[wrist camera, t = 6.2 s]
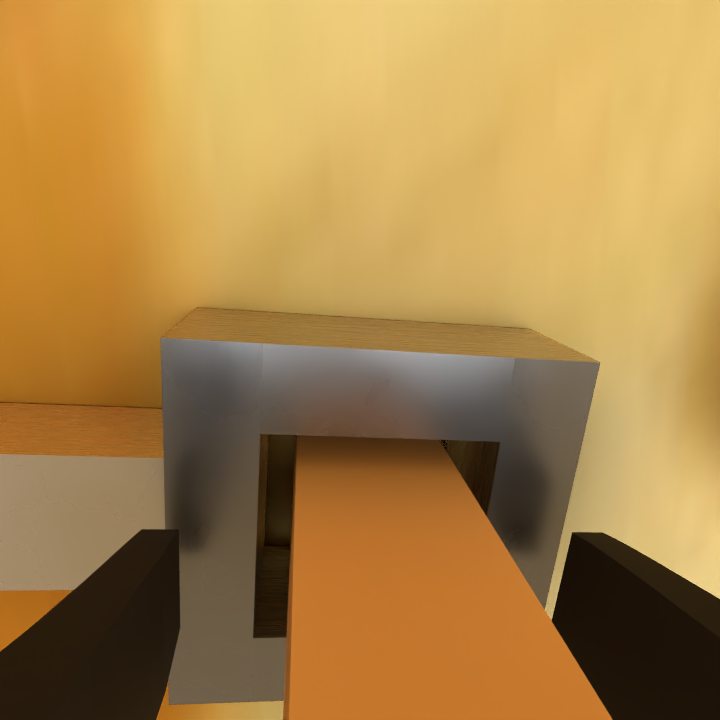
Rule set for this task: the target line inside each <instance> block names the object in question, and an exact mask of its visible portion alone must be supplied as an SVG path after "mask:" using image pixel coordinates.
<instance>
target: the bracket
mask: <svg viewBox="0 0 720 720" xmlns="http://www.w3.org/2000/svg"><path fill="white" fill-rule="evenodd" d="M599 366H600V362H598V361H596V360H594V359H592V358H590V357H588V356H585V355H583V354H581V353H579V352H577V351H575V350H573V349H571V348H569V347H567V346H565V345H562V344H560V343H558V342H556V341H554V340H552V339H550V338H548V337H546V336H544V335H542V334H540V333H537V332H535V331H533V330H531V329H522V328H507V327H492V326H476V325H461V324H445V323H430V322H414V321H399V320H384V319H368V318H353V317H337V316H322V315H306V314H291V313H276V312H260V311H245V310H229V309H214V308H196V309H195V310H194V311H193V312H191V313H190V314H189V315H188V316H187V317H185V318H184V319H183V320H182V321H181V322H179V323H178V324H177V325H176V326H175V327H173V328H172V329H171V330H170V331H168V332H167V333H166V334H165V335H164V336H162V337H161V367H162V409H156V408H130V407H103V406H77V405H51V404H25V403H0V591H8V590H74V589H76V588H77V587H78V586H79V585H80V584H81V583H82V582H83V581H85V580H86V579H87V578H88V577H89V576H90V575H91V574H92V573H93V572H94V571H96V570H97V569H98V568H99V567H100V566H101V565H102V564H103V563H104V562H106V561H107V560H108V559H109V558H110V557H111V556H112V555H113V554H114V553H115V552H116V551H118V550H119V549H120V548H121V547H122V546H123V545H124V544H125V543H126V542H128V541H129V540H130V539H131V538H132V537H133V536H134V535H136V534H137V533H138V532H139V531H140V530H141V529H179V570H180V631H179V636H178V640H177V644H176V649H175V653H174V658H173V662H172V666H171V670H170V675H169V679H168V681H169V705H179V704H206V703H232V702H259V701H284V687H285V662H286V637H287V613H288V588H289V563H290V546H264V535H265V510H266V485H267V460H268V434H277V435H308V436H339V437H369V438H400V439H430V440H447V447H446V452H447V453H448V455H449V457H450V458H451V460H452V461H453V463H454V465H455V466H456V468H457V470H458V471H459V473H460V474H461V476H462V478H463V479H464V481H465V482H466V484H467V486H468V487H469V489H470V490H471V492H472V494H473V495H474V497H475V499H476V500H477V502H478V503H479V505H480V507H481V508H482V510H483V511H484V513H485V515H486V516H487V518H488V519H489V521H490V523H491V524H492V526H493V528H494V529H495V531H496V532H497V534H498V536H499V537H500V539H501V540H502V542H503V544H504V545H505V547H506V549H507V550H508V552H509V553H510V555H511V557H512V558H513V560H514V561H515V563H516V565H517V566H518V568H519V569H520V571H521V573H522V574H523V576H524V578H525V579H526V581H527V582H528V584H529V586H530V587H531V589H532V590H533V592H534V594H535V595H536V597H537V599H538V600H539V602H540V603H541V605H542V607H543V608H544V610H545V605H546V601H547V596H548V592H549V587H550V583H551V578H552V574H553V570H554V565H555V561H556V556H557V552H558V547H559V543H560V539H561V534H562V530H563V525H564V521H565V516H566V512H567V508H568V503H569V499H570V494H571V490H572V485H573V481H574V477H575V472H576V468H577V463H578V459H579V454H580V450H581V445H582V441H583V437H584V432H585V428H586V423H587V419H588V414H589V410H590V406H591V401H592V397H593V392H594V388H595V383H596V379H597V375H598V370H599Z"/></svg>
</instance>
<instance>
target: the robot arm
mask: <svg viewBox="0 0 720 720" xmlns="http://www.w3.org/2000/svg"><path fill="white" fill-rule="evenodd" d="M552 623H553V624H554V626H555V628H556V629H557V631H558V632H559V634H560V636H561V637H562V639H563V640H564V642H565V644H566V645H567V647H568V649H569V650H570V652H571V653H572V655H573V657H574V658H575V660H576V661H577V663H578V665H579V666H580V668H581V669H582V671H583V673H584V674H585V676H586V678H587V679H588V681H589V682H590V684H591V686H592V687H593V689H594V690H595V692H596V694H597V695H598V697H599V699H600V700H601V702H602V703H603V705H604V707H605V708H606V710H607V711H608V713H609V715H610V716H611V718H612V719H613V720H720V599H719V598H717V597H715V596H714V595H712V594H710V593H708V592H707V591H705V590H703V589H702V588H700V587H698V586H697V585H695V584H693V583H691V582H690V581H688V580H686V579H685V578H683V577H681V576H680V575H678V574H676V573H675V572H673V571H671V570H669V569H668V568H666V567H664V566H663V565H661V564H659V563H658V562H656V561H654V560H652V559H651V558H649V557H647V556H645V555H644V554H642V553H640V552H638V551H637V550H635V549H633V548H631V547H630V546H628V545H626V544H624V543H622V542H620V541H618V540H616V539H614V538H612V537H610V536H608V535H606V534H604V533H589V532H572V536H571V540H570V545H569V549H568V553H567V558H566V562H565V566H564V570H563V575H562V579H561V583H560V588H559V592H558V596H557V601H556V605H555V609H554V614H553V618H552ZM179 631H180V570H179V529H141V530H140V531H139V532H138V533H137V534H136V535H134V536H133V537H132V538H131V539H130V540H129V541H128V542H126V543H125V544H124V545H123V546H122V547H121V548H120V549H119V550H118V551H116V552H115V553H114V554H113V555H112V556H111V557H110V558H109V559H108V560H107V561H106V562H104V563H103V564H102V565H101V566H100V567H99V568H98V569H97V570H96V571H94V572H93V573H92V574H91V575H90V576H89V577H88V578H87V579H86V580H85V581H83V582H82V583H81V584H80V585H79V586H78V587H77V588H76V589H74V590H73V591H72V592H71V593H70V594H69V595H67V596H66V597H65V598H64V599H63V600H62V601H61V602H59V603H58V604H57V605H56V606H55V607H54V608H52V609H51V610H50V611H49V612H48V613H47V614H46V615H44V616H43V617H42V618H41V619H40V620H39V621H37V622H36V623H35V624H34V625H33V626H32V627H30V628H29V629H28V630H27V631H26V632H24V633H23V634H22V635H21V636H19V637H18V638H17V639H16V640H14V641H13V642H12V643H11V644H9V645H8V646H7V647H6V648H4V649H3V650H2V651H1V652H0V720H156V718H157V715H158V712H159V709H160V706H161V703H162V700H163V697H164V694H165V691H166V687H167V683H168V679H169V675H170V670H171V666H172V662H173V658H174V653H175V649H176V644H177V640H178V636H179Z"/></svg>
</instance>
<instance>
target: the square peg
mask: <svg viewBox="0 0 720 720" xmlns="http://www.w3.org/2000/svg"><path fill="white" fill-rule="evenodd" d="M283 720H613V719H612V718H611V716H610V715H609V713H608V711H607V710H606V708H605V707H604V705H603V703H602V702H601V700H600V699H599V697H598V695H597V694H596V692H595V690H594V689H593V687H592V686H591V684H590V682H589V681H588V679H587V678H586V676H585V674H584V673H583V671H582V669H581V668H580V666H579V665H578V663H577V661H576V660H575V658H574V657H573V655H572V653H571V652H570V650H569V649H568V647H567V645H566V644H565V642H564V640H563V639H562V637H561V636H560V634H559V632H558V631H557V629H556V628H555V626H554V624H553V623H552V621H551V619H550V618H549V616H548V615H547V613H546V611H545V610H544V608H543V607H542V605H541V603H540V602H539V600H538V599H537V597H536V595H535V594H534V592H533V590H532V589H531V587H530V586H529V584H528V582H527V581H526V579H525V578H524V576H523V574H522V573H521V571H520V569H519V568H518V566H517V565H516V563H515V561H514V560H513V558H512V557H511V555H510V553H509V552H508V550H507V549H506V547H505V545H504V544H503V542H502V540H501V539H500V537H499V536H498V534H497V532H496V531H495V529H494V528H493V526H492V524H491V523H490V521H489V519H488V518H487V516H486V515H485V513H484V511H483V510H482V508H481V507H480V505H479V503H478V502H477V500H476V499H475V497H474V495H473V494H472V492H471V490H470V489H469V487H468V486H467V484H466V482H465V481H464V479H463V478H462V476H461V474H460V473H459V471H458V470H457V468H456V466H455V465H454V463H453V461H452V460H451V458H450V457H449V455H448V453H447V452H446V450H445V449H444V447H443V445H442V444H441V442H440V440H430V439H400V438H369V437H339V436H308V435H296V449H295V466H294V482H293V499H292V516H291V538H290V563H289V588H288V613H287V637H286V662H285V687H284V712H283Z"/></svg>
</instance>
